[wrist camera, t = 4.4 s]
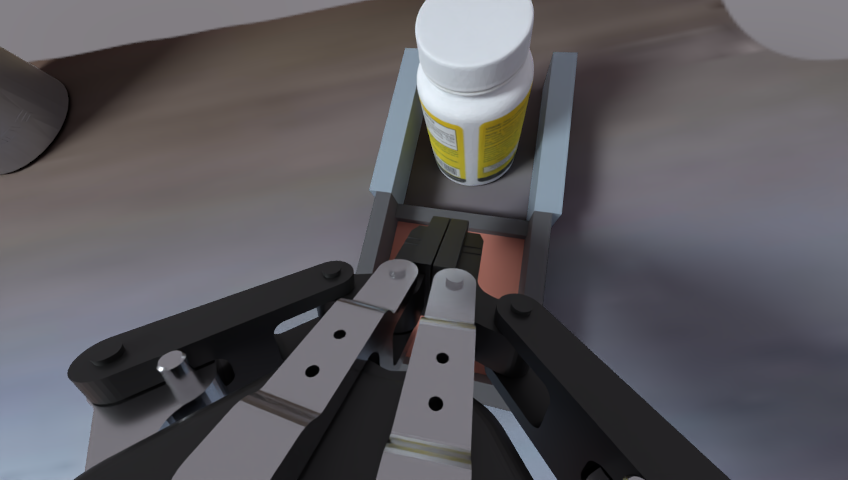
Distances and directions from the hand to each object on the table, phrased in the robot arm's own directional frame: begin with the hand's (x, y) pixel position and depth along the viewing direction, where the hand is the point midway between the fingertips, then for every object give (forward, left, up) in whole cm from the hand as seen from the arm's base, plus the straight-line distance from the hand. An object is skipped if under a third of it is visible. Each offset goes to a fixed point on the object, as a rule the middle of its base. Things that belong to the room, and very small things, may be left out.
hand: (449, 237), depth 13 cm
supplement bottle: (-3, +6, -4) cm, 8 cm away
